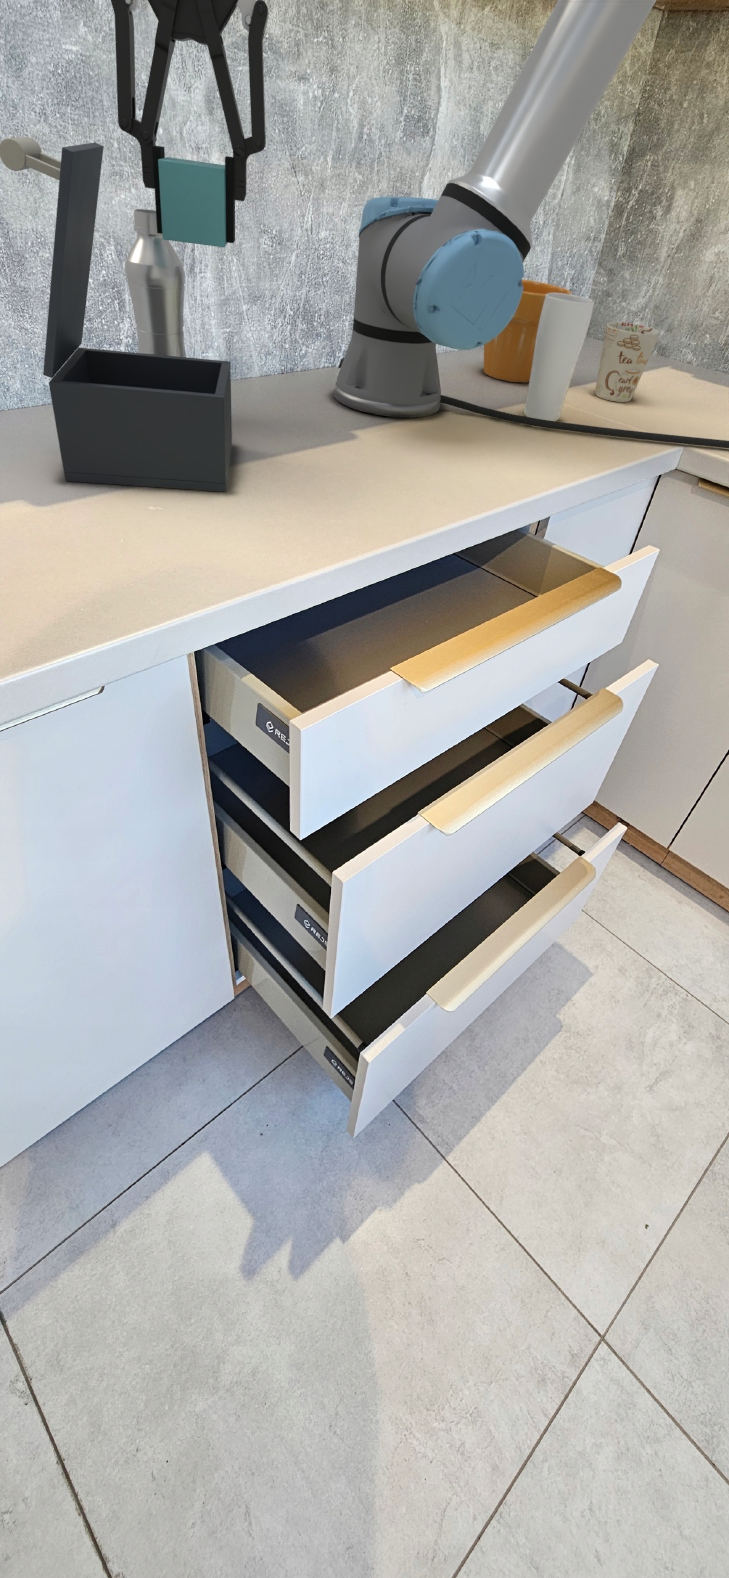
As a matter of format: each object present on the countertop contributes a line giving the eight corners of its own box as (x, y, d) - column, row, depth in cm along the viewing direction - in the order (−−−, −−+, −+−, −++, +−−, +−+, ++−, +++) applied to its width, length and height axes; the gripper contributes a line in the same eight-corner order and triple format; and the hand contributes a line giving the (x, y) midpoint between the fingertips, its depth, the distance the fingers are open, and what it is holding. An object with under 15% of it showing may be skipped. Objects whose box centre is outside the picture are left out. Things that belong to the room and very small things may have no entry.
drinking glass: (514, 418, 106) (541, 296, 96) (522, 407, 111) (549, 290, 101) (559, 428, 105) (592, 305, 95) (566, 417, 110) (598, 299, 100)
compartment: (232, 447, 85) (230, 361, 79) (226, 492, 75) (223, 397, 69) (90, 436, 83) (78, 347, 77) (65, 481, 73) (48, 382, 67)
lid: (103, 146, 67) (31, 113, 65) (72, 152, 56) (-15, 112, 55) (81, 344, 77) (18, 320, 75) (52, 378, 67) (-22, 352, 65)
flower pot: (551, 374, 130) (572, 287, 122) (548, 392, 120) (571, 299, 111) (473, 360, 132) (489, 273, 123) (463, 378, 121) (480, 284, 113)
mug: (584, 397, 120) (603, 326, 113) (595, 382, 129) (613, 316, 122) (634, 407, 118) (657, 336, 112) (642, 391, 127) (664, 325, 121)
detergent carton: (229, 240, 76) (228, 165, 72) (224, 247, 72) (224, 168, 68) (170, 232, 76) (167, 156, 72) (162, 239, 71) (157, 159, 67)
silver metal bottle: (182, 423, 89) (169, 218, 76) (129, 414, 90) (108, 209, 77) (201, 410, 94) (192, 214, 81) (151, 401, 95) (134, 205, 81)
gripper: (304, -90, 62) (291, 245, 78) (73, -134, 60) (107, 220, 75) (305, -111, 57) (290, 254, 72) (50, -160, 54) (91, 227, 70)
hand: (196, 236), depth 74 cm, fingers closed on detergent carton, 6 cm apart
